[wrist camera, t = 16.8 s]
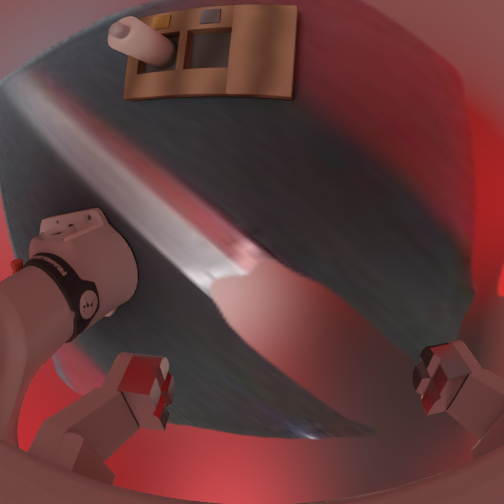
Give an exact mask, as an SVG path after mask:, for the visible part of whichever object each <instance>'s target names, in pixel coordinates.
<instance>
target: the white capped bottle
mask: <svg viewBox="0 0 504 504" xmlns="http://www.w3.org/2000/svg"><path fill="white" fill-rule="evenodd" d="M108 44H109V46H110V47H111V48H113V49H115V50H117V51H120V52H122V53H125V54H127V55H129V56H132V57H134V58H136V59H139V60H141V61H143V62H145V63H148V64H150V65H152V66H154V67H156V68H159V69H165V68H168V67H170V66H171V65H173V64H174V63H175V62H176V60H177V51H178V46H177V45H176V44H175V43H173V42H172V41H170V40H169V39H167V38H166V37H165V36H163V35H162V34H160V33H159V32H157V31H156V30H154V29H153V28H151V27H149V26H148V25H146V24H145V23H143V22H142V21H140V20H138V19H137V18H135V17H131V16H130V17H125V18H122V19H121V20H119V21H118V22H116V23H114V24H113V25H112V26H111V27H110V29H109V35H108Z"/></svg>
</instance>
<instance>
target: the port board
mask: <svg viewBox="0 0 504 504" xmlns="http://www.w3.org/2000/svg"><path fill="white" fill-rule="evenodd" d="M137 19H138V20H140V21H142V22H143V23H145V24H146V25H148V26H149V27H151V28H153V29H154V30H156V31H157V32H159V33H160V34H162V35H163V36H165V37H166V38H167V39H169V40H170V41H172V42H173V43H175V44H176V45H177V46H178V51H177V60H176V62H175V63H174V64H173V65H171V66H170V67H168V68H165V69H159V68H156V67H154V66H152V65H150V64H148V63H145V62H143V61H141V60H139V59H136V58H134V57H132V56H129V55H128V61H127V68H126V77H125V86H124V97H123V99H124V100H130V101H140V100H151V99H165V98H184V97H249V98H268V99H282V100H292V97H293V84H294V70H295V55H296V40H297V23H298V10H297V6H293V5H228V6H214V7H203V8H195V9H187V10H180V11H173V12H167V13H162V14H156V15H151V16H146V17H142V18H137Z"/></svg>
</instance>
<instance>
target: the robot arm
mask: <svg viewBox="0 0 504 504" xmlns="http://www.w3.org/2000/svg"><path fill="white" fill-rule="evenodd" d="M90 216H91V218H90ZM11 267H12V269H13V275H11V276H9V277H8V278H6V279H4V280H3V281H1V282H0V504H218V503H207V502H197V501H189V500H182V499H175V498H169V497H163V496H157V495H153V494H148V493H143V492H138V491H134V490H130V489H126V488H122V487H119V486H114V485H113V482H114V478H115V475H114V473H113V472H112V471H111V469H110V468H109V467H108V466H107V465H106V464H105V463H104V461H105V460H107V459H108V458H109V457H110V456H111V455H112V454H113V453H114V452H115V451H116V450H117V449H118V448H120V447H121V446H122V445H123V444H124V443H125V442H126V441H127V440H128V439H129V438H130V437H131V436H132V435H133V434H134V433H136V432H137V431H138V430H139V429H140V428H139V427H142V428H149V429H157V430H165V428H166V424H167V420H168V417H169V412H168V410H167V407H168V406H169V405H170V404H172V401H173V397H174V380H173V377H172V375H171V374H170V373H169V372H168V369H169V363H168V360H167V358H165V357H160V356H151V355H142V354H132V353H125V352H121V353H119V354H118V355H117V357H116V359H115V361H114V363H113V365H112V367H111V369H110V371H109V373H108V375H107V377H106V379H105V381H104V383H103V385H102V387H101V388H95V389H94V390H92V391H91V392H89V393H88V394H86V395H84V396H83V397H81V398H80V399H78V400H77V401H75V402H74V403H72V404H70V405H69V406H67V407H65V408H64V409H62V410H61V411H59V412H58V413H56V414H54V415H53V416H51V417H49V418H48V419H46V420H45V421H43V423H42V425H41V427H40V429H39V431H38V432H37V435H36V436H35V438H34V440H33V442H32V444H31V446H30V448H29V451H28V452H26V451H24V450H22V449H20V448H19V444H18V435H17V427H18V418H19V413H20V409H21V406H22V402H23V400H24V397H25V394H26V392H27V389H28V387H29V385H30V383H31V381H32V379H33V378H34V376H35V375H36V373H37V372H38V371H39V369H40V368H41V367H42V366H43V365H44V364H45V363H46V361H47V360H48V359H49V358H50V357H51V356H52V355H53V354H54V353H55V352H56V351H57V350H58V349H59V348H60V347H61V346H62V345H63V344H64V343H68V342H70V341H72V340H73V339H75V338H77V337H78V336H79V335H80V333H81V332H83V331H84V330H85V329H87V328H89V327H90V326H91V325H93V324H94V323H96V322H97V321H99V320H100V319H101V318H103V317H104V316H107V317H109V316H111V315H112V314H114V313H115V311H116V309H117V307H118V306H119V305H121V304H123V303H125V302H126V301H128V300H129V299H130V298H131V297H132V296H133V294H134V292H135V290H136V287H137V282H138V272H137V266H136V262H135V259H134V256H133V254H132V251H131V249H130V248H129V246H128V244H127V243H126V241H125V240H124V239H123V237H122V236H121V235H120V234H119V233H118V232H117V231H116V230H115V229H113V228H112V227H111V226H110V224H109V223H108V221H107V219H106V217H105V215H104V214H103V212H102V211H101V210H100V209H99V208H92V209H86V210H81V211H76V212H71V213H66V214H61V215H56V216H51V217H47V218H45V219H43V220H42V222H41V226H40V235H38V236H36V237H34V238H33V239H32V240H31V242H30V246H29V260H28V261H27V262H26V263H25V264H24V265H23V261H22V260H21V259H16V260H13V261H12V262H11ZM420 357H421V361H420V362H419V363H418V364H417V365H416V366H415V369H414V371H413V385H414V388H415V390H416V392H418V393H419V394H421V395H422V397H421V403H422V406H423V408H424V410H425V412H426V415H430V414H434V413H439V412H442V411H446V410H447V413H449V414H450V415H451V416H452V417H453V418H455V419H456V420H457V421H458V422H459V423H460V424H462V425H463V426H464V427H465V428H466V429H467V430H469V431H470V432H471V433H472V434H473V435H474V436H476V437H477V438H478V439H479V442H478V443H477V444H476V445H475V446H474V447H473V448H472V450H471V453H472V455H473V458H474V460H472V461H469V462H467V463H465V464H462V465H460V466H458V467H455V468H453V469H450V470H447V471H445V472H442V473H440V474H437V475H434V476H431V477H428V478H425V479H422V480H419V481H416V482H413V483H410V484H406V485H402V486H399V487H395V488H391V489H388V490H383V491H379V492H375V493H370V494H365V495H360V496H354V497H348V498H342V499H336V500H329V501H320V502H311V503H299V504H504V379H503V378H501V377H499V376H497V375H495V374H493V373H492V372H490V371H488V370H486V369H485V370H483V369H482V368H481V366H480V365H479V363H478V362H477V361H476V359H475V357H474V356H473V355H472V353H471V352H470V350H469V349H468V348H467V346H466V345H465V343H464V342H462V341H460V340H458V341H454V342H449V343H444V344H438V345H433V346H427V347H425V348H424V349H423V350H422V352H421V354H420Z"/></svg>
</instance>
